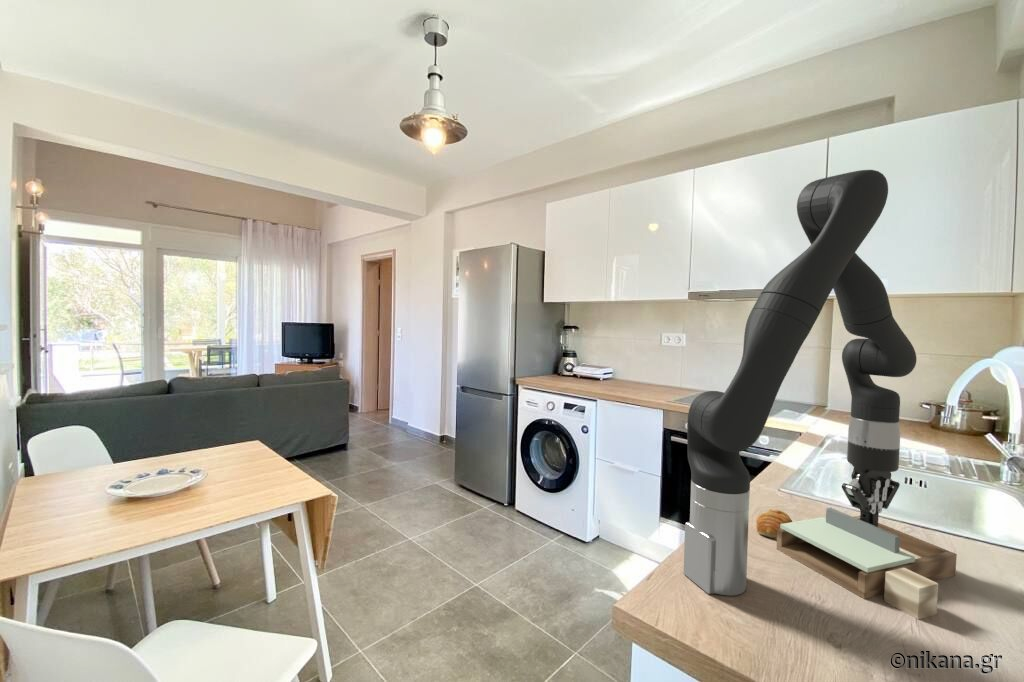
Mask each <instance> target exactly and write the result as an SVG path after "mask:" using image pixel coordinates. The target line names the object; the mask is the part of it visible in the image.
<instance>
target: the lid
mask: <svg viewBox="0 0 1024 682" xmlns="http://www.w3.org/2000/svg"><path fill="white" fill-rule="evenodd" d="M780 528H781V529H783V530H785V531H787V532H789V533H791V534H793V535H795V536H797V537H799V538H801V539H803V540H805V541H807V542H809V543H811V544H813V545H814V546H816V547H818V548H820V549H822V550H824V551H826V552H828V553H830V554H832V555H834V556H836V557H838V558H840V559H842V560H844V561H846V562H848V563H850V564H851V565H853V566H855V567H857V568H859V569H861V570H863V571H865V572H867V573H868V572H872V571H877V570H881V569H885V568H890V567H894V566H898V565H903V564H907V563H911V562H915V557H914V556H911V555H909V554H907V553H905V552H902V551H900V550H899V547H900V536H898V535H896V534H893V533H891V532H889V531H886V530H884V529H881V528H879V527H876V526H874V525H871V524H869V523H867V522H864V521H862V520H859V519H857V518H854V516H851V515H849V514H846V513H845V512H842V511H839V510H837V509H834V508H832V507H827V508H826V510H825V517H824V516H821V517H815V518H808V519H802V520H797V521H792V522H790V523H784V524H780Z"/></svg>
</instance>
